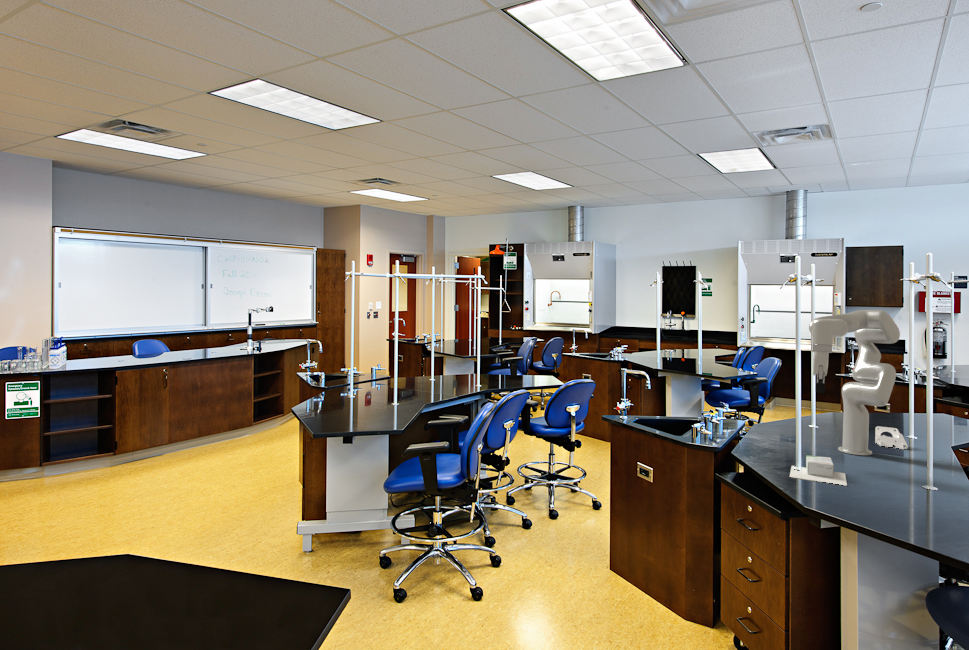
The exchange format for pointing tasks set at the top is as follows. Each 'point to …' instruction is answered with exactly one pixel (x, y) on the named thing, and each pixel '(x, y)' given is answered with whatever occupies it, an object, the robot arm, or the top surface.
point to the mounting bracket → (890, 438)
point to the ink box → (819, 466)
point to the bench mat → (819, 477)
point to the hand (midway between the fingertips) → (820, 392)
